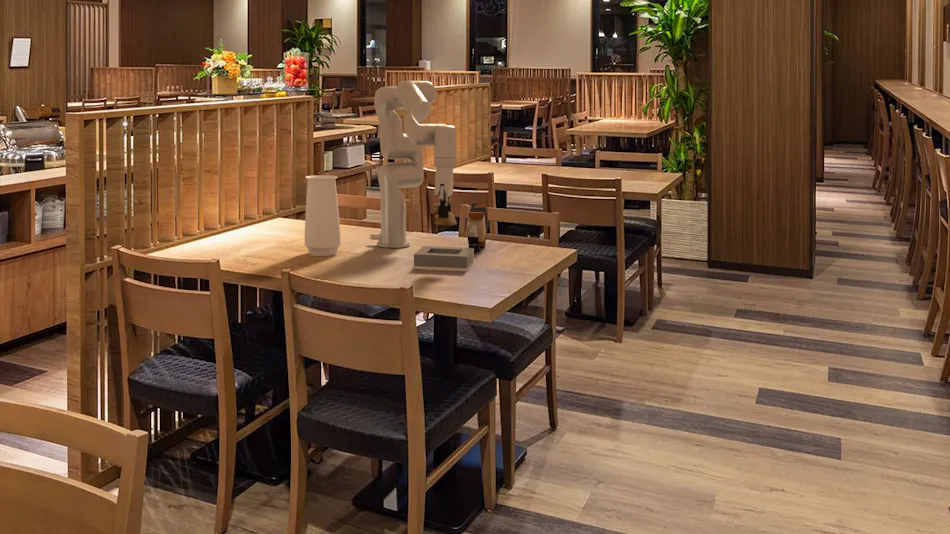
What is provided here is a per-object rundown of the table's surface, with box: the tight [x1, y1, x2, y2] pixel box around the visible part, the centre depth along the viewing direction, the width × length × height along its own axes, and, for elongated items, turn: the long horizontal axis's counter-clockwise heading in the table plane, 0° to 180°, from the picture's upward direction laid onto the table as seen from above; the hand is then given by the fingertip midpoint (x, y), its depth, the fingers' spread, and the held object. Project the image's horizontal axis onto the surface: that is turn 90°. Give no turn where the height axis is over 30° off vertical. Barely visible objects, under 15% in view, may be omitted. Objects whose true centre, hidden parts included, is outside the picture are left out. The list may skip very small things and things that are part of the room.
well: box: [413, 245, 475, 272], centre depth 306 cm, size 18×16×5 cm
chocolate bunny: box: [431, 196, 458, 226], centre depth 303 cm, size 6×8×10 cm
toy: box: [466, 202, 490, 253], centre depth 337 cm, size 16×6×20 cm
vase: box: [304, 174, 342, 257], centre depth 322 cm, size 13×13×28 cm
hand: (444, 216), depth 303 cm, fingers closed on chocolate bunny, 4 cm apart
